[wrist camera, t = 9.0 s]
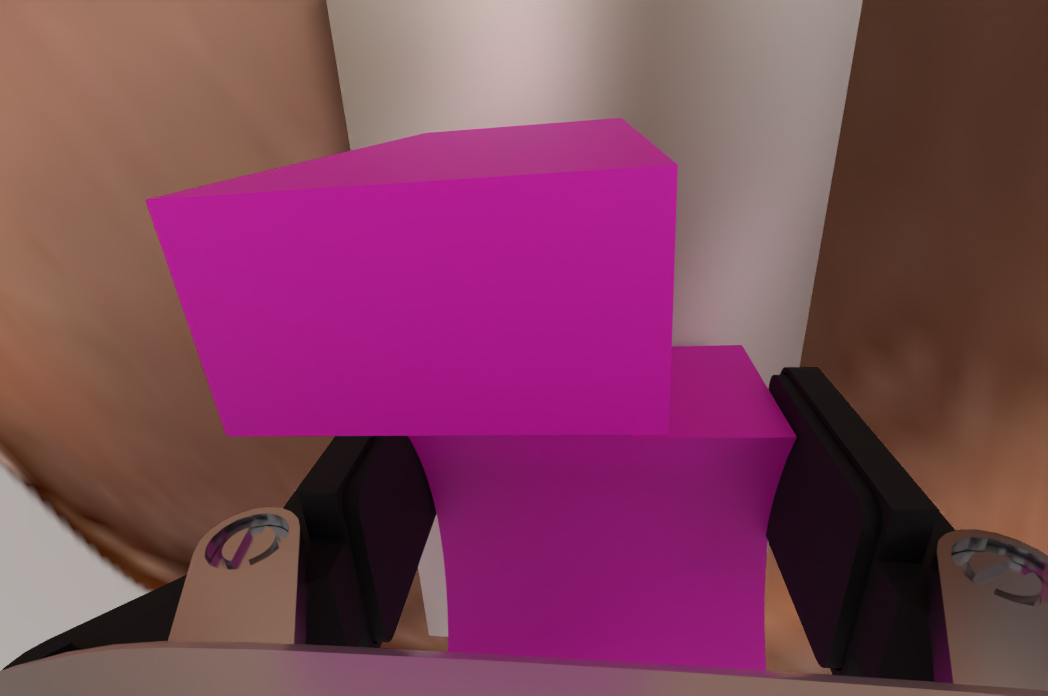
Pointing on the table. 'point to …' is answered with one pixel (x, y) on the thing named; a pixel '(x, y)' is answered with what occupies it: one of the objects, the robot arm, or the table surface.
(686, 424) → the toy block
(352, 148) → the plinth
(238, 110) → the table surface
